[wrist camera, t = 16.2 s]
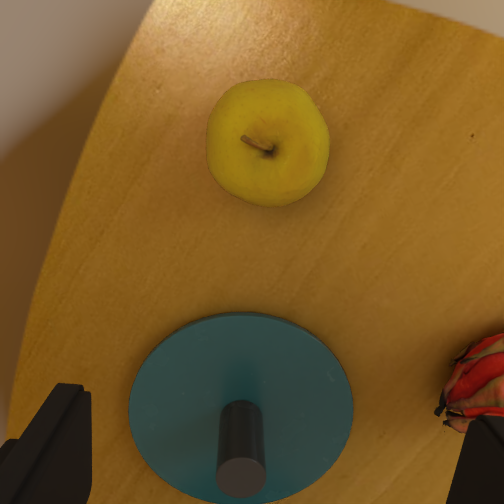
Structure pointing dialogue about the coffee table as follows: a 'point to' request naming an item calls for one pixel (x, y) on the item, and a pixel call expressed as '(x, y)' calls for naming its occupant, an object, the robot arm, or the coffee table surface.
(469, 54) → the coffee table surface
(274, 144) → the apple
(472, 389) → the dragon fruit
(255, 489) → the lid
